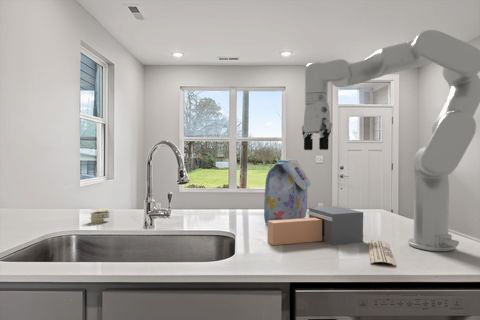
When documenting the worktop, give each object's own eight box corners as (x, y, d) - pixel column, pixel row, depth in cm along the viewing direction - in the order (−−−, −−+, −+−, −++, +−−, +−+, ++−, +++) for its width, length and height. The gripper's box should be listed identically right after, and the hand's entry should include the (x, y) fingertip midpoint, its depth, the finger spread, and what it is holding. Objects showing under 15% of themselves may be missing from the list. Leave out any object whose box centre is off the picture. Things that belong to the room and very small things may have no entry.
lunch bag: (302, 228, 135) (302, 160, 135) (261, 224, 142) (261, 159, 141) (312, 218, 156) (313, 159, 156) (276, 215, 163) (276, 159, 162)
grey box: (362, 241, 115) (363, 212, 115) (330, 244, 110) (330, 214, 110) (337, 232, 128) (337, 206, 128) (307, 235, 124) (307, 207, 123)
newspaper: (368, 245, 113) (368, 239, 113) (391, 247, 111) (391, 241, 111) (370, 267, 91) (370, 260, 91) (400, 270, 88) (400, 263, 88)
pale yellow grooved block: (97, 225, 140) (97, 212, 140) (83, 223, 144) (83, 210, 144) (117, 221, 148) (117, 208, 148) (103, 219, 153) (103, 207, 153)
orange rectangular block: (322, 240, 115) (322, 219, 115) (272, 245, 109) (272, 223, 109) (315, 237, 119) (315, 217, 119) (267, 242, 113) (267, 220, 113)
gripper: (340, 96, 112) (340, 149, 113) (312, 104, 129) (311, 150, 129) (320, 95, 110) (320, 149, 110) (294, 102, 126) (293, 150, 126)
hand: (315, 149), depth 120 cm, fingers open, 9 cm apart
